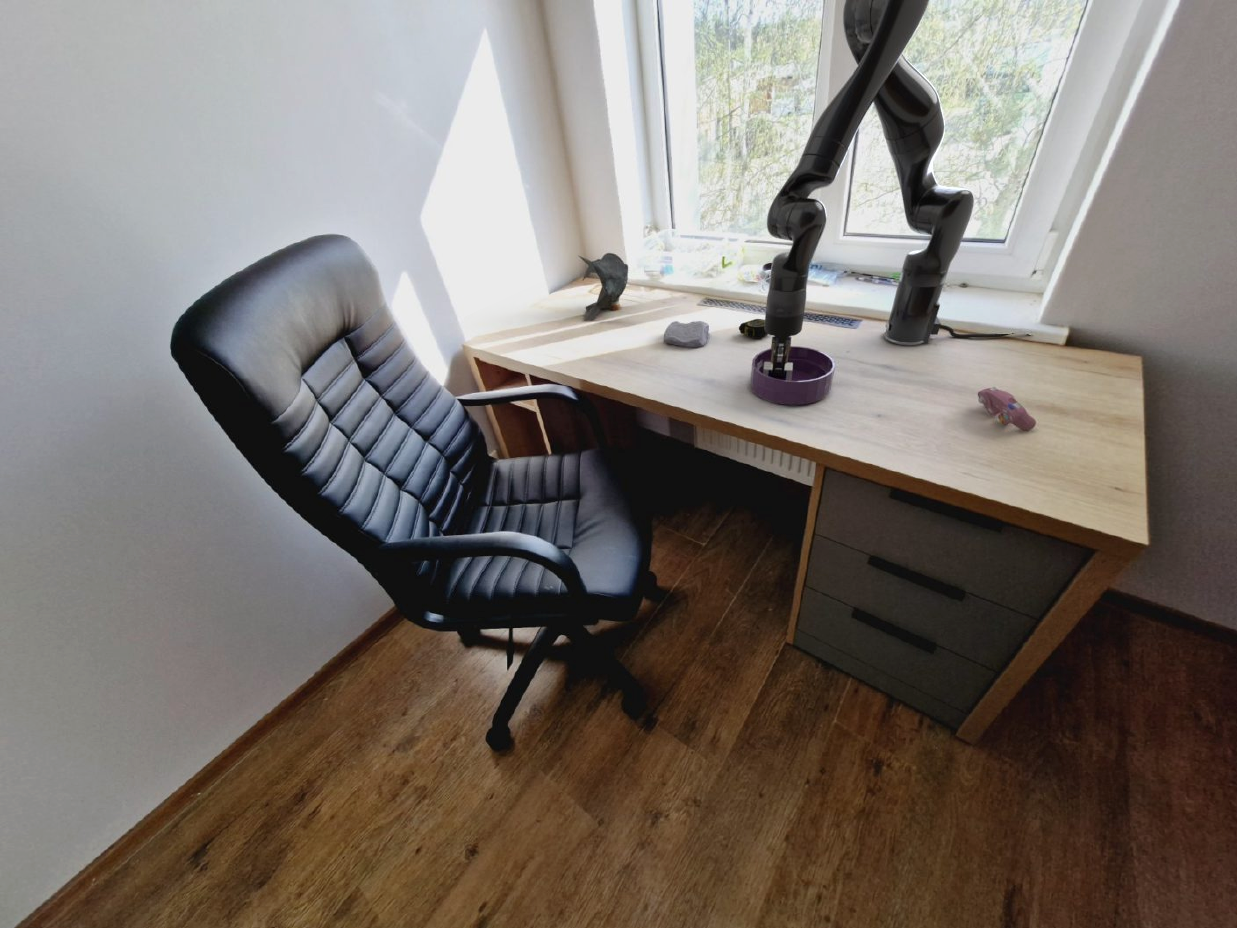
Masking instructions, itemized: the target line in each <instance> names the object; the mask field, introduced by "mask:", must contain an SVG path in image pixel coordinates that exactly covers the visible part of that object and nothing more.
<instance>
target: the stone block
mask: <svg viewBox="0 0 1237 928" xmlns="http://www.w3.org/2000/svg"><path fill="white" fill-rule="evenodd" d="M709 333H710V325H709V324H708V323H707V322H706V321H703V320H700V321H699V320H698V321H690V322H686V323H684V322H679V321H672V322H671V323H670V324H668V326H667V327H666V328H665V330H664V333H663V341H664V343H665V344H670V345H676V346H678V347H683V348H690V349H692V348H693V349H694V348H701V347H703V346H704V345H705V344H707V339H708V336H709Z"/></svg>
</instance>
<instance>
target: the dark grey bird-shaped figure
mask: <svg viewBox="0 0 1237 928" xmlns="http://www.w3.org/2000/svg"><path fill="white" fill-rule="evenodd" d="M578 257H579V258H580V259H581V260H582V261H583V262H584V263H585V264H586V265H587V269H586V270H585V273H584V276H583V278H582V281H581V282H583V281H584V280H585V279H586V278H587V277H588V276H589V275H590V274H591V273H594V274H596V275H597V276H598V279H599V281H600V284H601V288H600V290H599V294H598V297H597V300H596V301H595V302H593V303H591V304H589V305H587V306H585V316H584V322H588V321H594V319H595V317H596V316H597V315H598V313H599V311H606V310H608V311H619V310H620V309H621V302H620V297H621V296H622V295H623V293H624V291H625V290H626V288H627V285H628V281H629V265H628V264H627V263H625V262H624V261H623V260H622V258H621V257H620V256H618V254H615V253H614V252H613V253H612V252H606V253H605V254H604V255H602V257H601V258H598V259H596V260H590V259H587V258H585V257H582V255H581V256H580V255H578Z"/></svg>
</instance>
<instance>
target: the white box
mask: <svg viewBox="0 0 1237 928" xmlns="http://www.w3.org/2000/svg"><path fill="white" fill-rule="evenodd" d="M772 368H773V364H772V363H771V362H764V370H763V374H765V375H767V376H769V377H772V373H771V370H772ZM780 369H781V368H780ZM792 369H793V363H787V364H785V369H784V370H785V374H784V376H783V378H782V380H786V381H791V377H792Z"/></svg>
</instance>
